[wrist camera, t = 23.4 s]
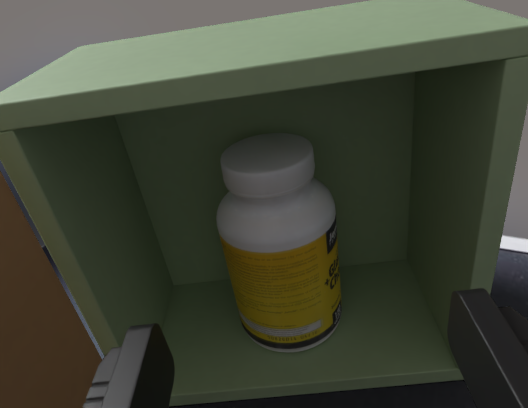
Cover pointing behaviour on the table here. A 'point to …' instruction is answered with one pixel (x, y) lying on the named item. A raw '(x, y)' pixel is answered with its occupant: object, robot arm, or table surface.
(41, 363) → the cabinet door
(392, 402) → the table surface
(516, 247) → the table surface
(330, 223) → the pill bottle
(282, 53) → the cabinet
